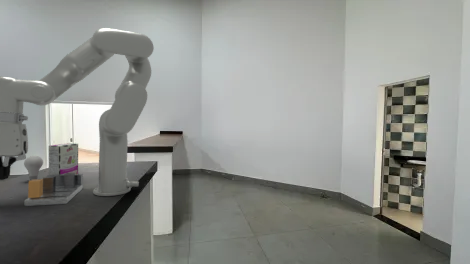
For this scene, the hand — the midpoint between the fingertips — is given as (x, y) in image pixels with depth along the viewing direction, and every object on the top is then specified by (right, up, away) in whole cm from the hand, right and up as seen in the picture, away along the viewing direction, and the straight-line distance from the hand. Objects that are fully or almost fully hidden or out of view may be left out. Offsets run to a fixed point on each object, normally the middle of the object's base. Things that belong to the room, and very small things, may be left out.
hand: (2, 178), depth 71 cm
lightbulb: (-14, -7, +28) cm, 32 cm away
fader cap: (+7, -6, +3) cm, 10 cm away
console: (+8, -8, +11) cm, 16 cm away
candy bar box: (-2, -8, +28) cm, 29 cm away
